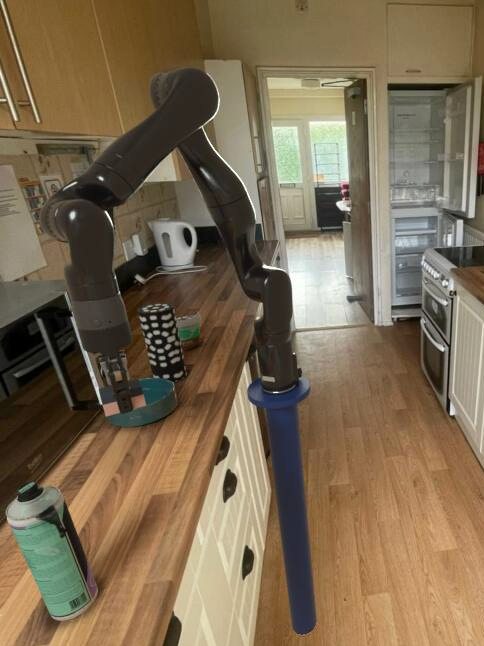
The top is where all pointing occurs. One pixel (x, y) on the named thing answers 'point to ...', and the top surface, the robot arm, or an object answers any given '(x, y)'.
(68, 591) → the spray can
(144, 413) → the bowl
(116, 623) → the top surface
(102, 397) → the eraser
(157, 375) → the spotted tube
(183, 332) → the food container
